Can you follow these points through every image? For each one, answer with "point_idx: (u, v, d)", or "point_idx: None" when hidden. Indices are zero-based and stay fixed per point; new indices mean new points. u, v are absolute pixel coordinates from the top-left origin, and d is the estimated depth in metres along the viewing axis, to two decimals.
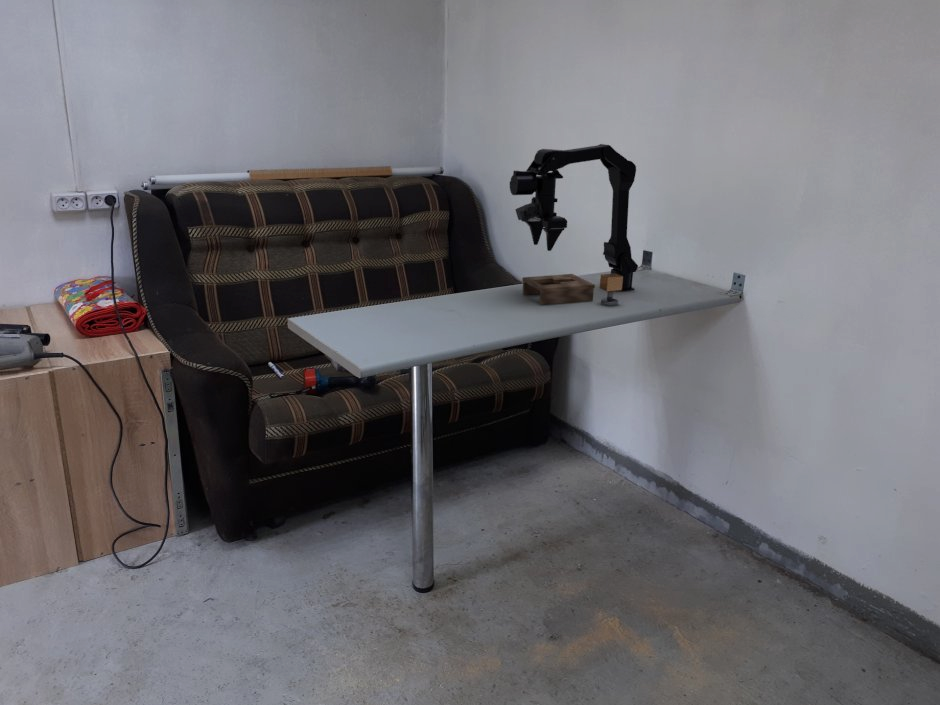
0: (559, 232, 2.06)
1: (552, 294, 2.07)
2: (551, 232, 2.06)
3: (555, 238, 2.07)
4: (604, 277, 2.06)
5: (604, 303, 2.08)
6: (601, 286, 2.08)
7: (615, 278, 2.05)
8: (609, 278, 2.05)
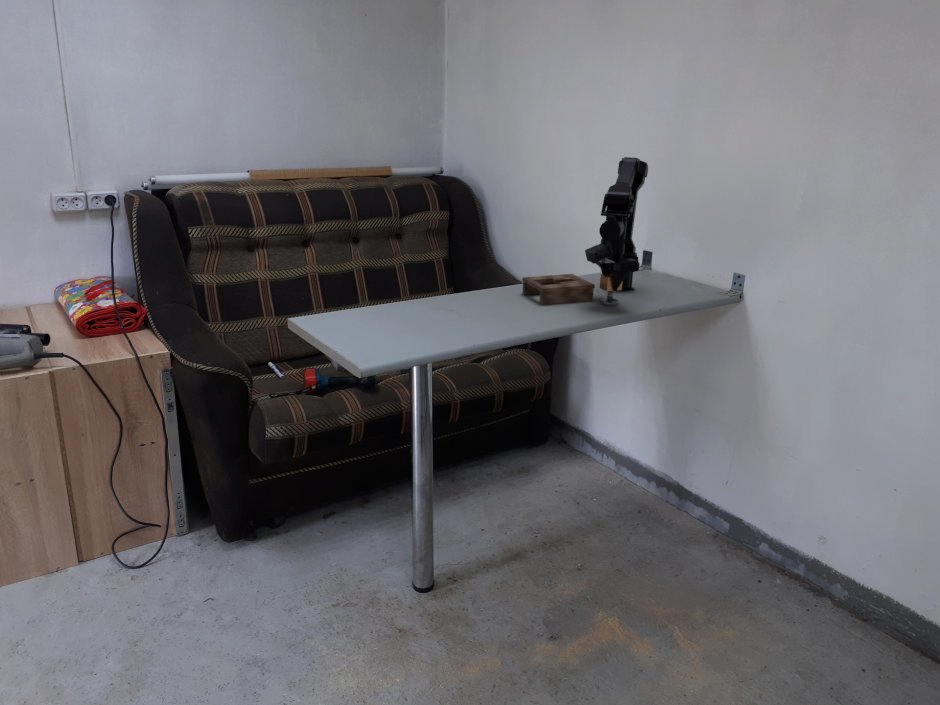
0: (625, 272, 2.04)
1: (552, 294, 2.07)
2: (617, 272, 2.03)
3: (621, 278, 2.04)
4: (604, 277, 2.06)
5: (604, 303, 2.08)
6: (601, 286, 2.08)
7: None
8: (609, 278, 2.05)
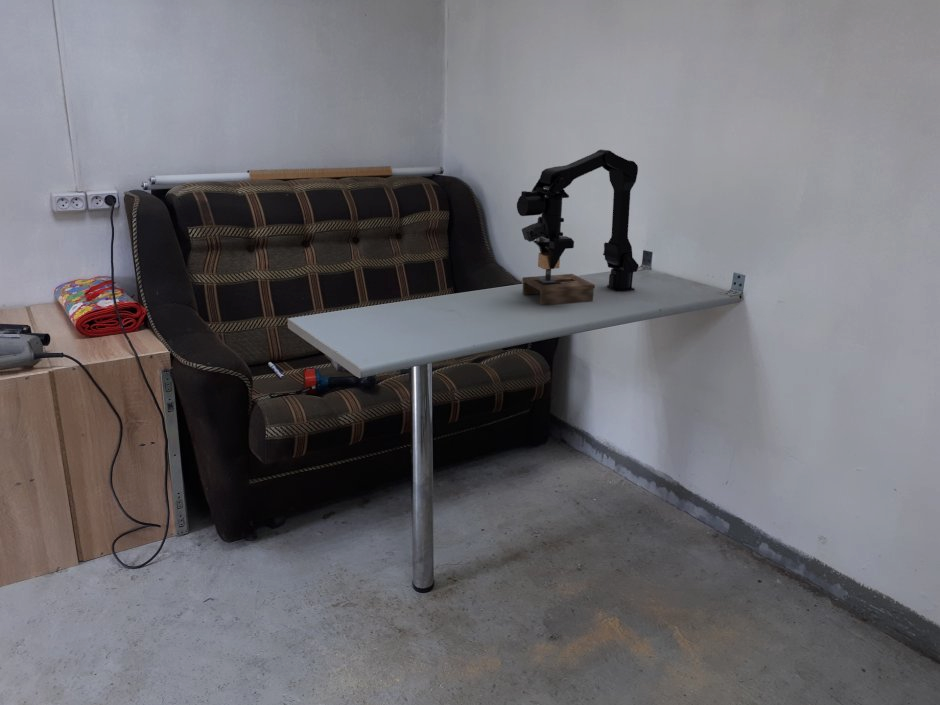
0: (562, 250, 2.07)
1: (552, 294, 2.07)
2: (554, 250, 2.06)
3: (558, 256, 2.07)
4: (541, 255, 2.09)
5: (542, 281, 2.11)
6: (539, 264, 2.11)
7: None
8: (546, 256, 2.08)
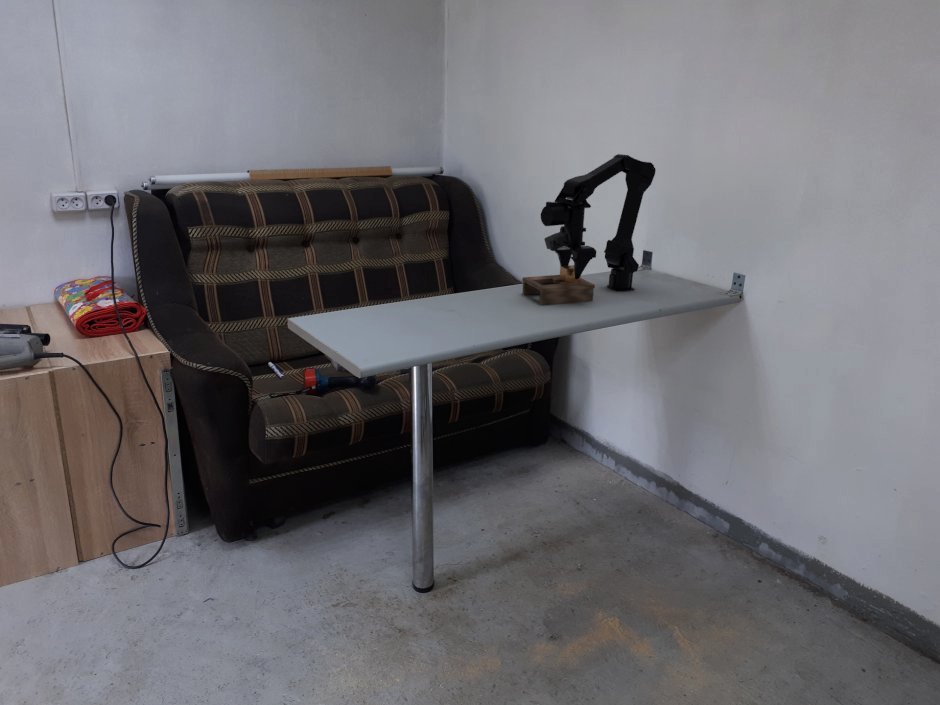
0: (587, 261, 2.08)
1: (552, 294, 2.07)
2: (579, 261, 2.08)
3: (583, 267, 2.09)
4: (563, 268, 2.13)
5: None
6: (561, 277, 2.15)
7: (573, 269, 2.12)
8: (568, 269, 2.12)
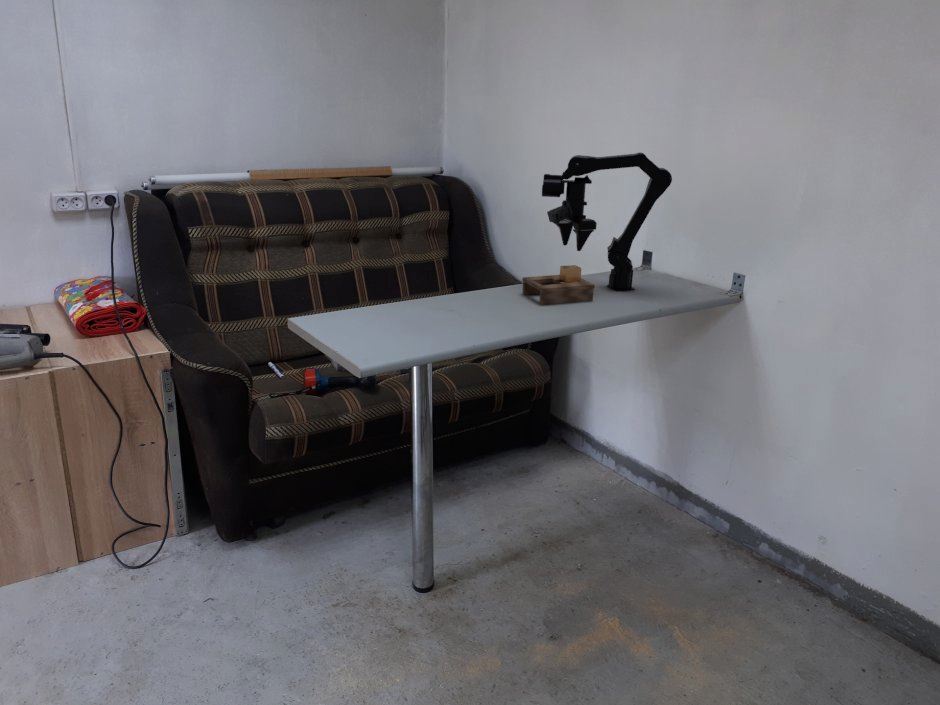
0: (588, 233, 2.19)
1: (552, 294, 2.07)
2: (581, 233, 2.19)
3: (585, 239, 2.20)
4: (563, 268, 2.13)
5: None
6: (561, 277, 2.15)
7: (573, 269, 2.12)
8: (568, 269, 2.12)
